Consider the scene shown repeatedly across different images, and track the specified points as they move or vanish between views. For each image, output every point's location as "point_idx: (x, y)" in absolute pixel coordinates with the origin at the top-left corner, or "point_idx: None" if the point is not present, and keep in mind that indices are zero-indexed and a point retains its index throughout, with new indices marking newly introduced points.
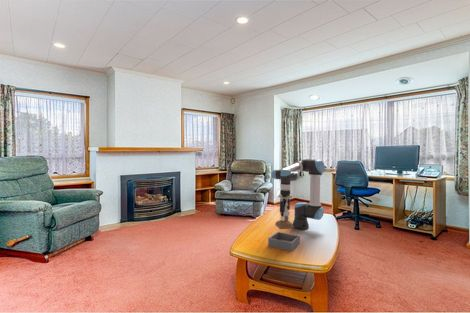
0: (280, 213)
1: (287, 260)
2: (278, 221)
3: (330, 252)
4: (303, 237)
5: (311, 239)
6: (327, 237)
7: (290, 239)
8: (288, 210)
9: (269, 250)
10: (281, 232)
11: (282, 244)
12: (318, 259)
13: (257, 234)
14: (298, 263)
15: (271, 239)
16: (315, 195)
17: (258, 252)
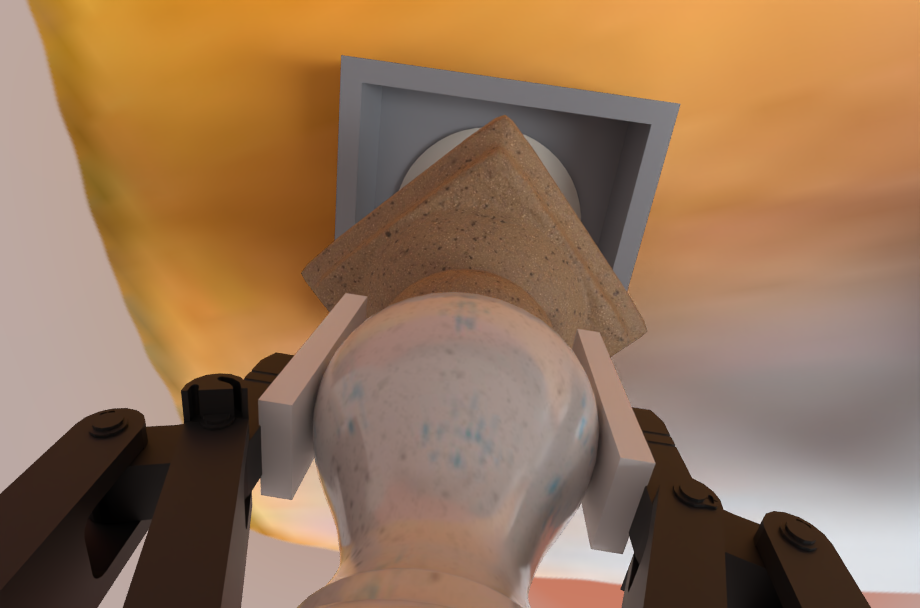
0: (349, 335)
1: (172, 321)
2: (474, 196)
3: None
4: (791, 362)
5: (748, 433)
6: (850, 545)
7: None
8: (614, 542)
9: (264, 120)
10: (656, 164)
11: None
12: (325, 500)
13: None
14: (178, 397)
15: (341, 107)
16: None
17: (147, 23)
